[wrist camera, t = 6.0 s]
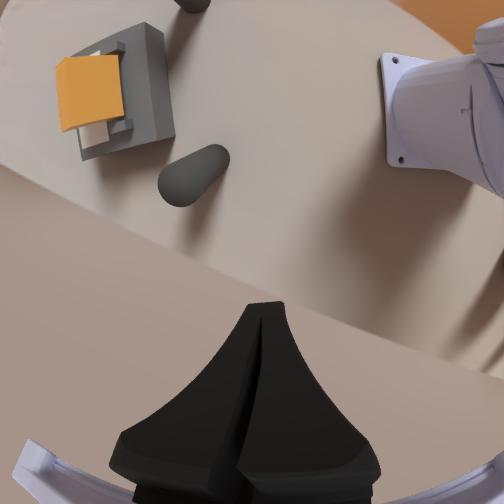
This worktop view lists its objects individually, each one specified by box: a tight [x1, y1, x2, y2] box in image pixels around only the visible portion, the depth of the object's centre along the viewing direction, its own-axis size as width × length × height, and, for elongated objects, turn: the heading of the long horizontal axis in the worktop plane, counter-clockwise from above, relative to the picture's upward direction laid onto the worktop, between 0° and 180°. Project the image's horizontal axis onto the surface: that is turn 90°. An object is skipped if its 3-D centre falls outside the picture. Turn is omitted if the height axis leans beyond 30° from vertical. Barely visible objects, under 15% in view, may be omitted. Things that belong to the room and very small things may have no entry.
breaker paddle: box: [56, 55, 124, 132], centre depth 11 cm, size 1×4×4 cm, turn 6°
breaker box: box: [71, 22, 176, 161], centre depth 13 cm, size 6×8×4 cm
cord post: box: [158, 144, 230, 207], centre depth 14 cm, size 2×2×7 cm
